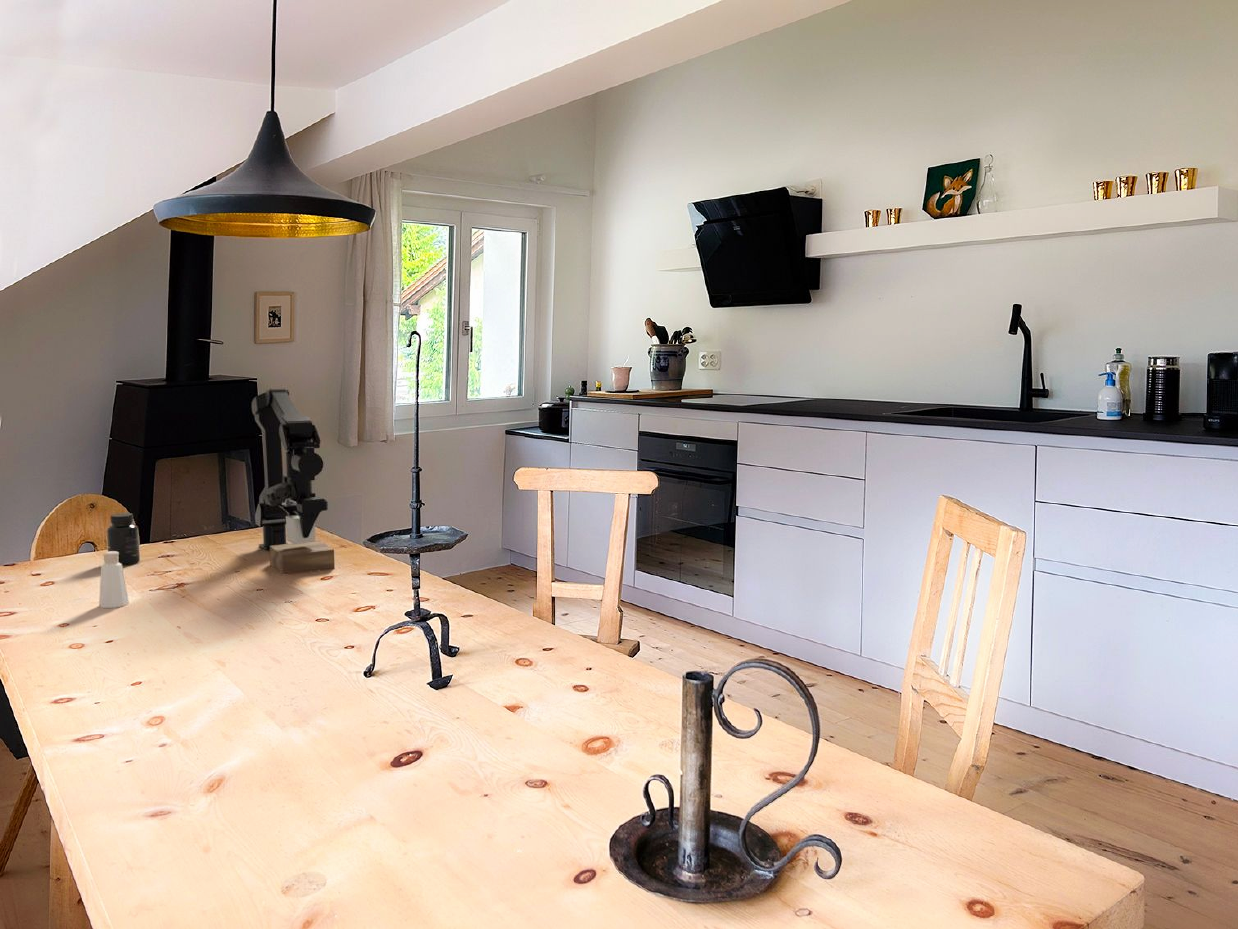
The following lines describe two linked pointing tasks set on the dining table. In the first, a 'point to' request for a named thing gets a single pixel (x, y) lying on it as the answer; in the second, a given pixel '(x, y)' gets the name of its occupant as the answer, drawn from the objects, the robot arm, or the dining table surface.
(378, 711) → the dining table surface
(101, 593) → the salt shaker
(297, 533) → the grey block
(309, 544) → the walnut box
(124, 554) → the supplement bottle
